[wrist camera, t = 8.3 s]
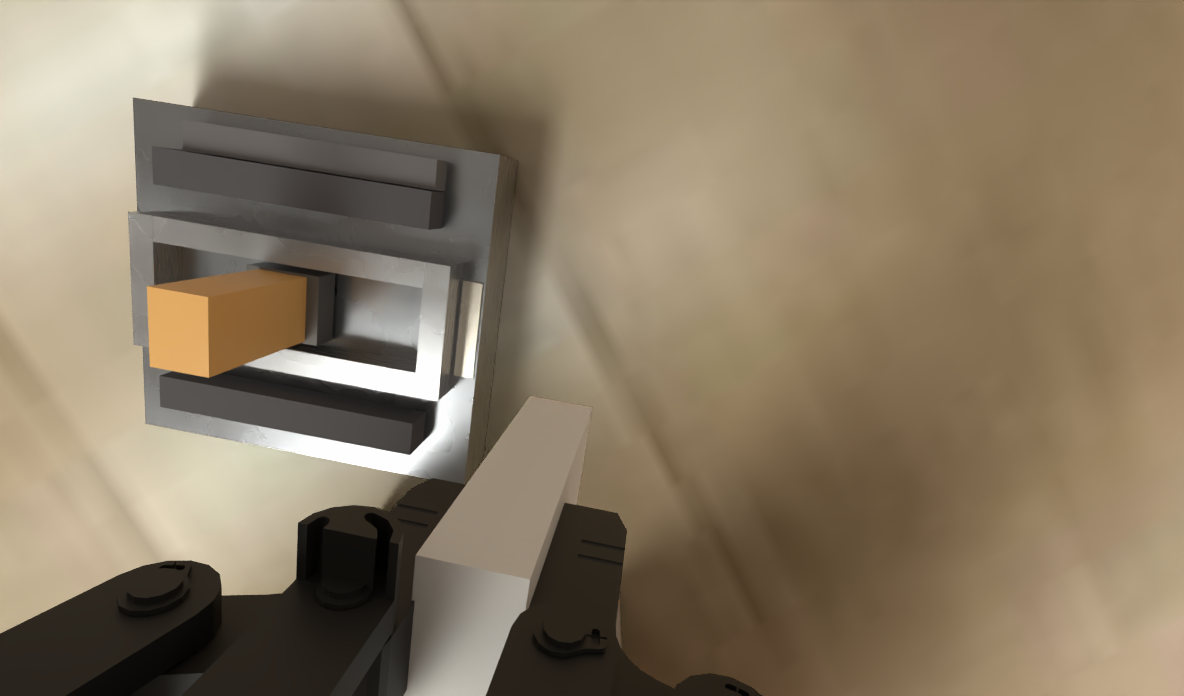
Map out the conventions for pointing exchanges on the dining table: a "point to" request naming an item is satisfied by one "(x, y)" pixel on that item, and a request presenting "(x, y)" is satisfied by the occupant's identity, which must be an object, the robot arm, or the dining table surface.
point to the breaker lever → (237, 317)
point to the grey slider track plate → (313, 193)
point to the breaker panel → (343, 292)
